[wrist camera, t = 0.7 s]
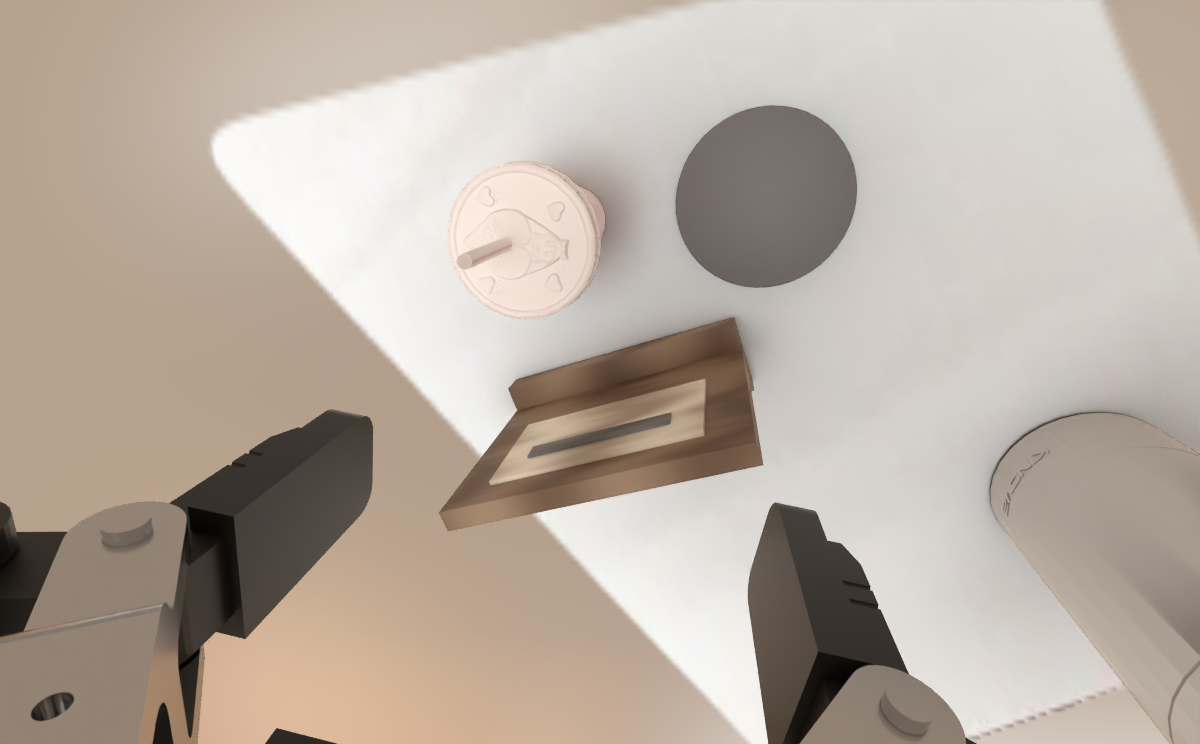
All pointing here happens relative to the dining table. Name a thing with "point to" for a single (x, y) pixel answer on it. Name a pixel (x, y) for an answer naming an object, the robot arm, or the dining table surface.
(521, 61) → the dining table surface
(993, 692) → the dining table surface
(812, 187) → the coaster
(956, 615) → the dining table surface
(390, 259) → the dining table surface
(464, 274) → the smoothie
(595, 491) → the placard
